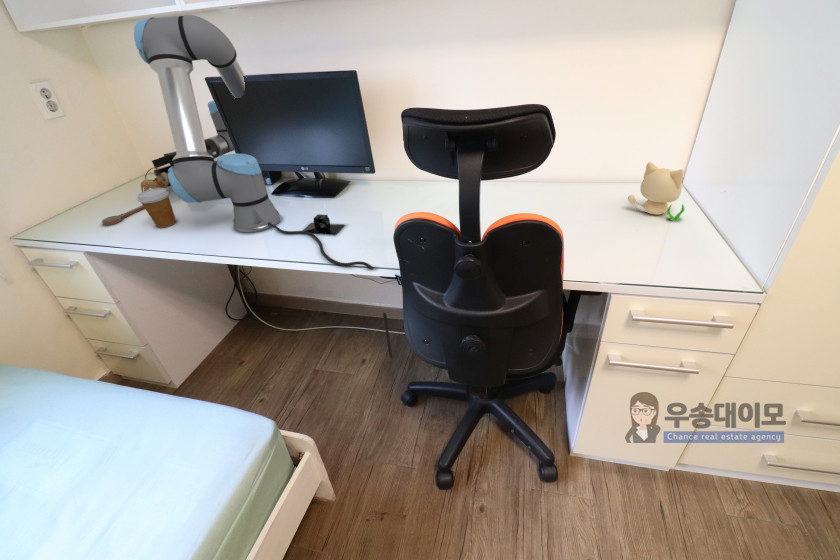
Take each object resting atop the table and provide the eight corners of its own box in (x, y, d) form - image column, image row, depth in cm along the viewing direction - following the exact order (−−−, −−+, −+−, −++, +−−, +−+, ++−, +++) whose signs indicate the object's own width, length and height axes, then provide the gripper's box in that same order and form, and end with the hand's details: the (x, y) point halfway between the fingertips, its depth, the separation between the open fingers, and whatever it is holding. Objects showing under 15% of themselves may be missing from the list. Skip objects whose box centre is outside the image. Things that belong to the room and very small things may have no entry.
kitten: (689, 215, 118) (705, 166, 110) (670, 225, 114) (686, 175, 105) (641, 201, 129) (653, 155, 120) (623, 210, 124) (634, 163, 116)
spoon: (165, 201, 162) (164, 197, 161) (110, 226, 144) (108, 222, 143) (155, 200, 164) (153, 196, 163) (99, 224, 146) (97, 221, 145)
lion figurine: (178, 190, 173) (169, 170, 168) (175, 194, 168) (166, 173, 163) (142, 195, 170) (132, 175, 165) (137, 199, 166) (127, 179, 161)
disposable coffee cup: (146, 227, 140) (130, 196, 134) (170, 216, 147) (156, 186, 140) (162, 231, 136) (146, 199, 130) (186, 220, 143) (172, 189, 136)
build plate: (301, 233, 128) (297, 220, 125) (312, 223, 133) (308, 210, 131) (335, 235, 124) (332, 221, 122) (345, 225, 130) (342, 212, 128)
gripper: (240, 158, 153) (198, 177, 137) (192, 156, 161) (147, 173, 145) (233, 139, 149) (189, 156, 133) (185, 137, 157) (138, 153, 141)
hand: (167, 165), depth 139 cm, fingers open, 13 cm apart
